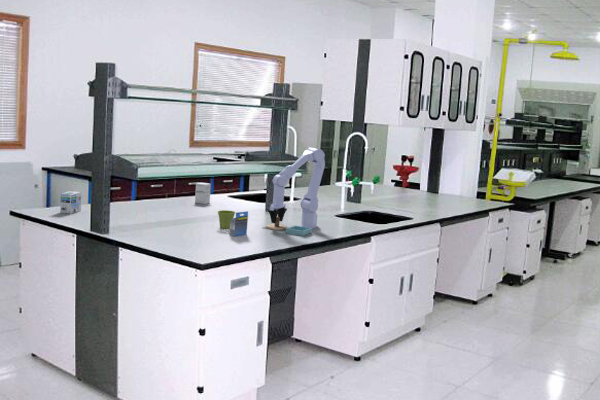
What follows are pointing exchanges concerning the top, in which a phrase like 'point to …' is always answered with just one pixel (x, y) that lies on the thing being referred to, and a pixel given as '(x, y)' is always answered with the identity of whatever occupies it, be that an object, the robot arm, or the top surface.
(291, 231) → the dish
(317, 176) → the robot arm
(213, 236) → the top surface
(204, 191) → the supplement box
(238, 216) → the label tape box
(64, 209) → the light bulb box
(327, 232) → the top surface
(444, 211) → the top surface
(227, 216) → the plant pot
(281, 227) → the lid
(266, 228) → the mat
